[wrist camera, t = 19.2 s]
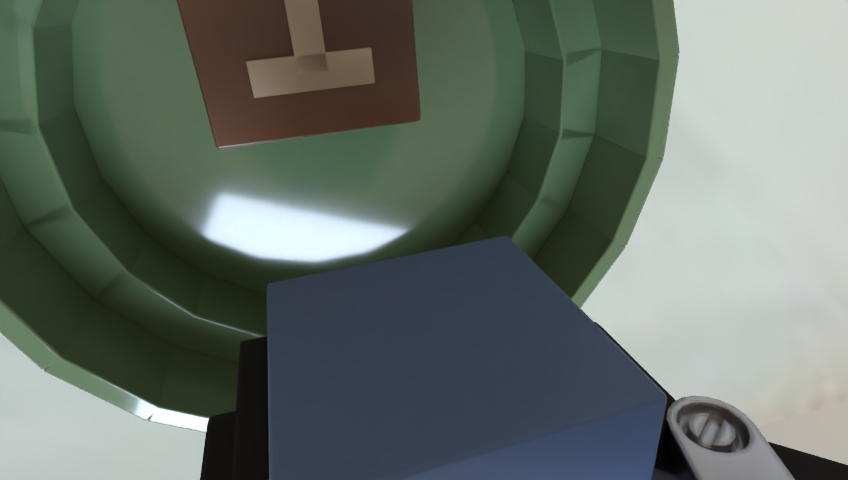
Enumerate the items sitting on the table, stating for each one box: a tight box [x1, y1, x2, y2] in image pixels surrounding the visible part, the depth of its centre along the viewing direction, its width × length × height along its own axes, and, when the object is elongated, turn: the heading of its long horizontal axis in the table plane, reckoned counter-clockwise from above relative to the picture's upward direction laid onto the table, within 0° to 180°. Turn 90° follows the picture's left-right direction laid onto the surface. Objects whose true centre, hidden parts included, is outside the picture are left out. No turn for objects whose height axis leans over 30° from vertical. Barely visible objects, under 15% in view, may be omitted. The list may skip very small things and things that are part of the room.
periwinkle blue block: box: [267, 236, 667, 480], centre depth 9 cm, size 5×5×5 cm
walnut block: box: [177, 0, 421, 149], centre depth 13 cm, size 5×5×5 cm
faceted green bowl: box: [0, 0, 679, 432], centre depth 15 cm, size 18×18×6 cm
